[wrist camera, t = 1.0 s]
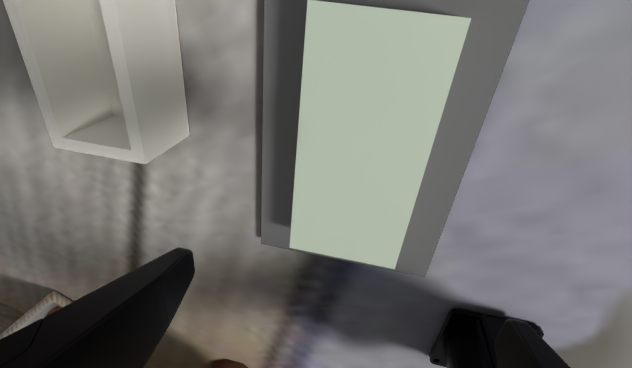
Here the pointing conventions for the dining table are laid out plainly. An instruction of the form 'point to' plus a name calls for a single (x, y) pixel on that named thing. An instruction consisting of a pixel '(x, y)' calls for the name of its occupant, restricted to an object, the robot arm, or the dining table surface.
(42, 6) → the white rectangular box
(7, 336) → the robot arm
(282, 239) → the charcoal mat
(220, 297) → the dining table surface
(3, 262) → the dining table surface
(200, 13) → the dining table surface
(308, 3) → the sage lid
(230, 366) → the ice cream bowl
